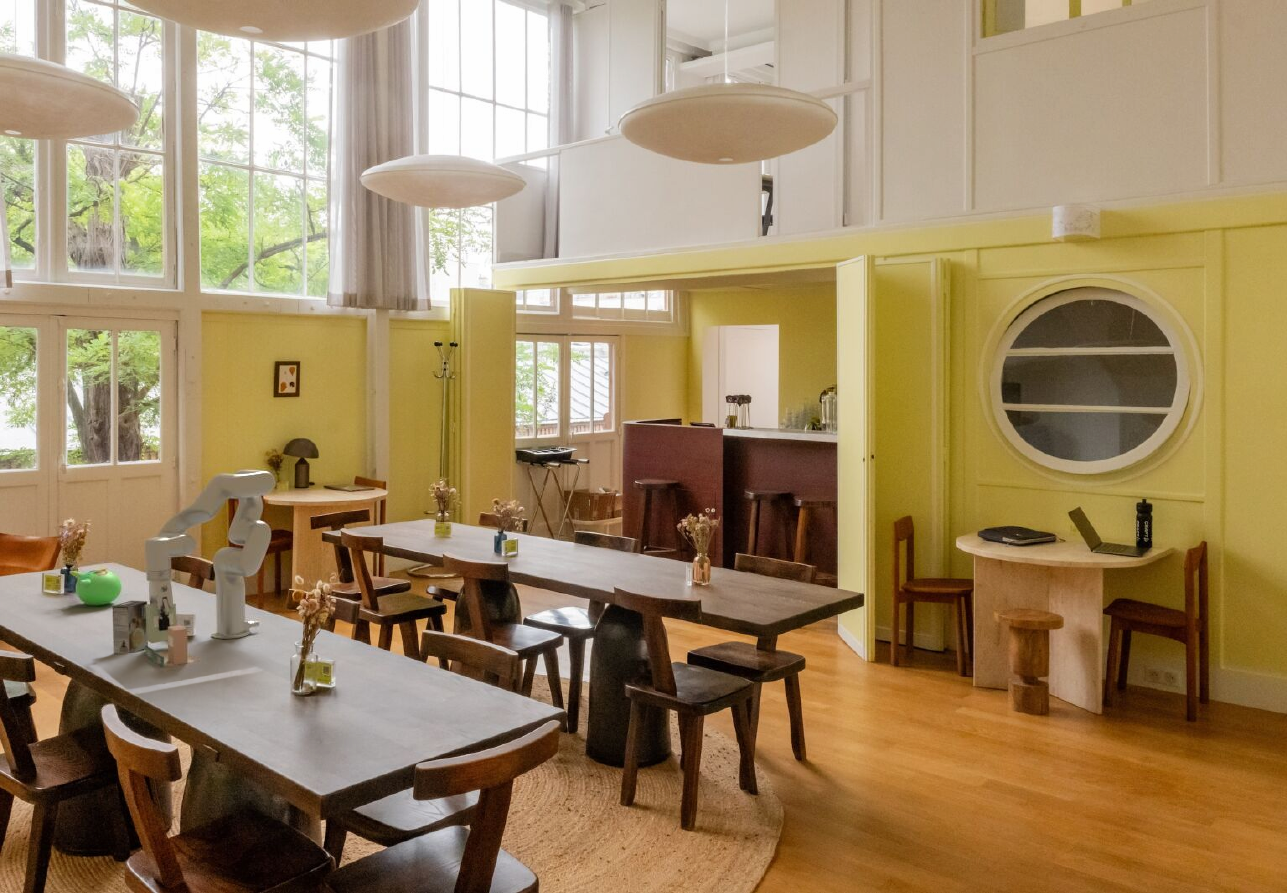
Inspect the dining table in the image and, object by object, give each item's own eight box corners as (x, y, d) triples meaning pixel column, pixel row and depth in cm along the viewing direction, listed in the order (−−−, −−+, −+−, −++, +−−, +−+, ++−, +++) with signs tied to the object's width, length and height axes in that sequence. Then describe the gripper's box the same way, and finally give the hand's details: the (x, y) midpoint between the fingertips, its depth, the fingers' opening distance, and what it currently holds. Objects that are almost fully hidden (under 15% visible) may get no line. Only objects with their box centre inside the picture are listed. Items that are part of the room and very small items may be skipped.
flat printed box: (180, 653, 328) (180, 640, 328) (199, 665, 315) (198, 651, 315) (144, 659, 321) (144, 645, 321) (162, 671, 308) (161, 657, 307)
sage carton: (172, 635, 333) (170, 600, 332) (177, 638, 329) (175, 603, 328) (147, 640, 327) (145, 604, 326) (151, 643, 324) (149, 607, 323)
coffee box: (132, 646, 336) (131, 599, 335) (148, 647, 335) (148, 601, 334) (112, 653, 327) (111, 605, 326) (129, 654, 326) (128, 606, 325)
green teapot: (128, 605, 396) (127, 569, 395) (81, 611, 384) (81, 574, 383) (112, 598, 408) (111, 563, 407) (66, 604, 396) (66, 568, 395)
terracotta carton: (181, 658, 317) (181, 624, 316) (187, 662, 313) (187, 628, 312) (167, 660, 314) (167, 626, 314) (173, 664, 310) (173, 630, 309)
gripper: (179, 577, 322) (182, 631, 324) (162, 568, 335) (165, 620, 337) (154, 580, 317) (157, 635, 319) (139, 572, 330) (141, 625, 332)
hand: (161, 627), depth 328 cm, fingers closed on sage carton, 5 cm apart
